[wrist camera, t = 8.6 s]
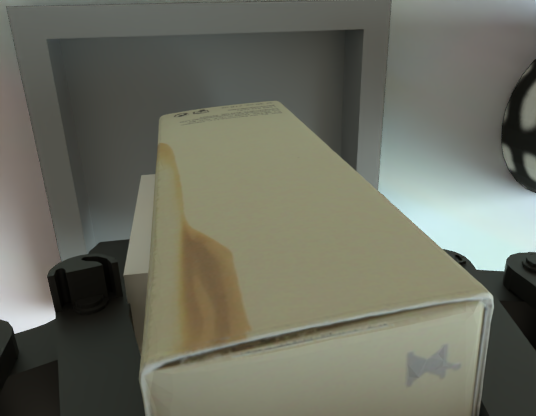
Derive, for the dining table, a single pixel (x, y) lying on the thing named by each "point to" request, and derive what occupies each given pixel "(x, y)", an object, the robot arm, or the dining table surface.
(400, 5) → the dining table surface
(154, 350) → the skincare box
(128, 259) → the robot arm
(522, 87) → the white-spotted black cylinder
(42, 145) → the tray
